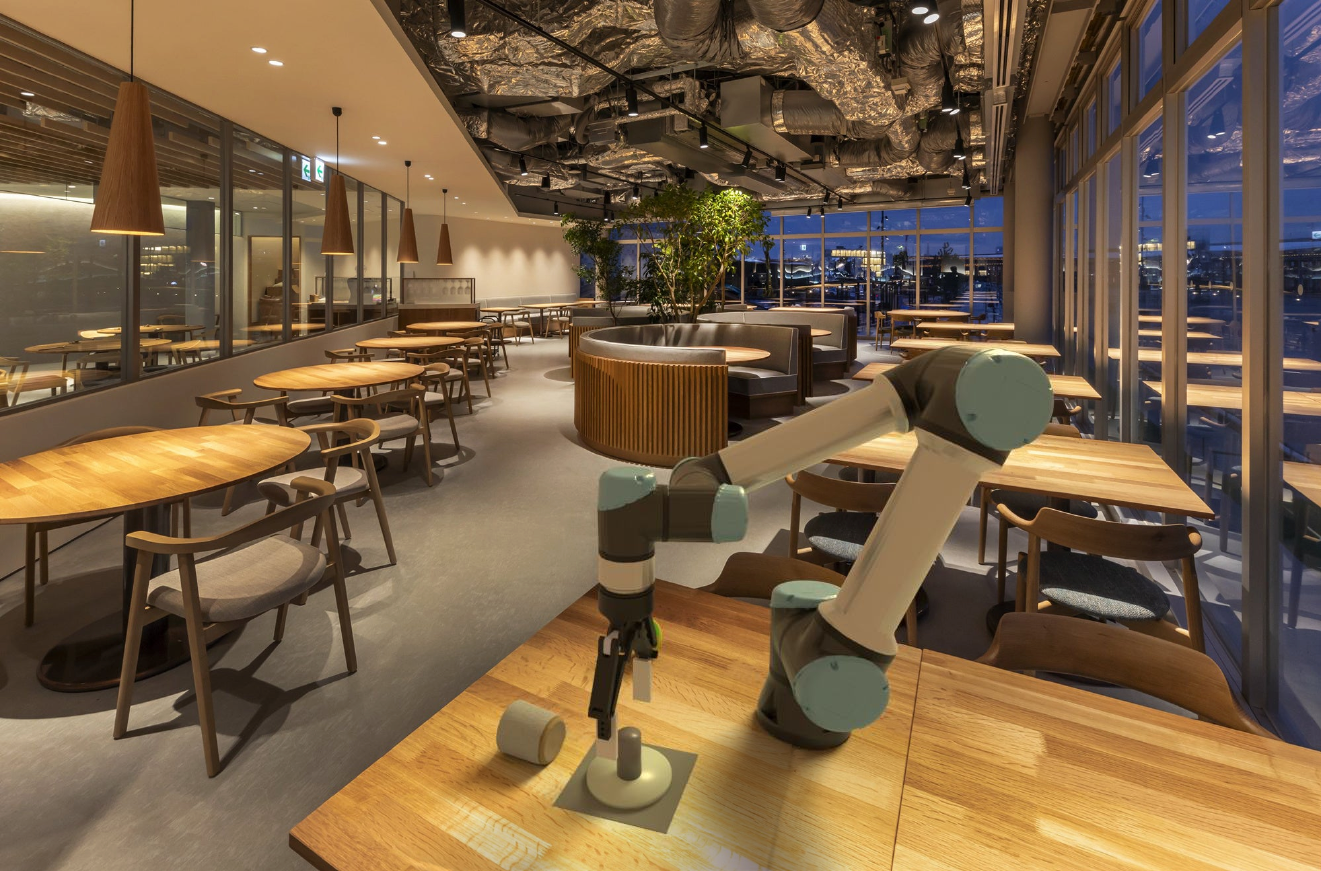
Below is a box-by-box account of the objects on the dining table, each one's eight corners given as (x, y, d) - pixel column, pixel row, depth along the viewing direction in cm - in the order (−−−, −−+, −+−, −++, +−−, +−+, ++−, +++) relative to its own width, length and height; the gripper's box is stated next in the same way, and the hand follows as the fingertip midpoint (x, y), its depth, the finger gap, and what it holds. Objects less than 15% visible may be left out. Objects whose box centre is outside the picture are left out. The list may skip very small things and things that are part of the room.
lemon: (634, 646, 133) (634, 598, 131) (664, 647, 132) (664, 600, 130) (630, 663, 126) (629, 614, 124) (661, 665, 126) (660, 615, 124)
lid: (681, 759, 98) (681, 717, 97) (656, 818, 87) (656, 771, 86) (606, 744, 102) (605, 702, 101) (572, 798, 91) (570, 752, 89)
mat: (698, 757, 100) (698, 754, 100) (666, 836, 85) (666, 833, 85) (599, 737, 105) (599, 734, 104) (552, 808, 90) (552, 805, 90)
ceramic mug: (542, 778, 95) (541, 729, 94) (495, 763, 99) (493, 715, 97) (580, 736, 105) (579, 691, 104) (536, 724, 108) (535, 680, 107)
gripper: (632, 548, 102) (631, 676, 106) (558, 619, 79) (561, 779, 83) (679, 554, 100) (677, 684, 104) (618, 629, 76) (618, 793, 80)
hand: (625, 726), depth 93 cm, fingers open, 13 cm apart
